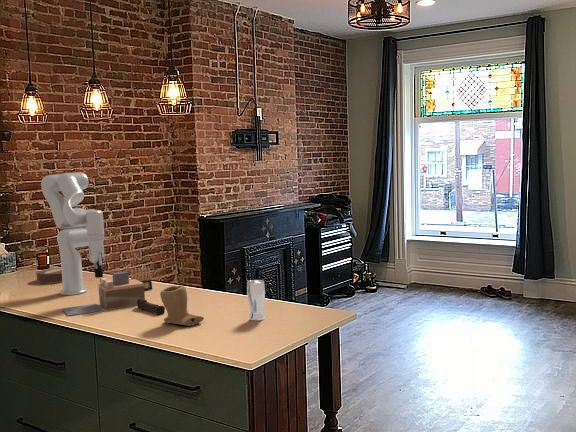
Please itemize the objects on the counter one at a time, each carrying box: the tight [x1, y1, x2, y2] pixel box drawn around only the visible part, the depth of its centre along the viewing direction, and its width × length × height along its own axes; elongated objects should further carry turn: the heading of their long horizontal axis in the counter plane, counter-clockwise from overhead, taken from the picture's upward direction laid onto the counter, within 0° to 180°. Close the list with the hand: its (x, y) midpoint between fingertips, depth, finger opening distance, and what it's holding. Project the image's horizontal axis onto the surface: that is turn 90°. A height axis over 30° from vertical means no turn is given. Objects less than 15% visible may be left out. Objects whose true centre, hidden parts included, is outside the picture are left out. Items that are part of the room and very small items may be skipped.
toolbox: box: [98, 286, 146, 311], centre depth 283 cm, size 12×17×8 cm
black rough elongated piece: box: [136, 299, 166, 316], centre depth 268 cm, size 19×4×5 cm, turn 41°
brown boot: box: [160, 284, 205, 327], centre depth 245 cm, size 15×12×15 cm
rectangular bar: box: [99, 276, 113, 288], centre depth 279 cm, size 14×2×2 cm, turn 32°
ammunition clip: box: [130, 265, 153, 292], centre depth 309 cm, size 11×2×12 cm, turn 130°
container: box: [36, 267, 63, 285], centre depth 345 cm, size 20×20×6 cm
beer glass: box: [246, 279, 266, 322], centre depth 248 cm, size 7×7×15 cm
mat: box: [60, 303, 105, 317], centre depth 274 cm, size 14×15×1 cm
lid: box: [97, 271, 144, 291], centre depth 282 cm, size 12×17×7 cm
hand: (99, 277), depth 289 cm, fingers closed
